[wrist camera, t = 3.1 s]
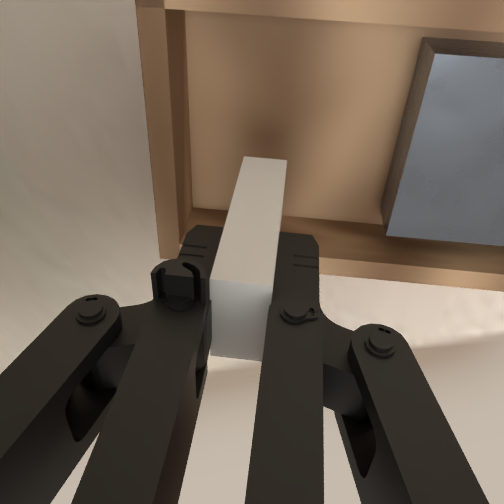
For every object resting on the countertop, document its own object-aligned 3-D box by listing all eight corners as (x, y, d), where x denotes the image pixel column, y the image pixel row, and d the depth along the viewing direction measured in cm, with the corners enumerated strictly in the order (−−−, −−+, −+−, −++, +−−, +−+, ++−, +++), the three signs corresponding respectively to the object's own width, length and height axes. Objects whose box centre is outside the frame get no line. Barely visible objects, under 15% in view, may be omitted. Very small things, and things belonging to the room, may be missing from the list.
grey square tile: (379, 207, 24) (385, 235, 22) (422, 36, 19) (435, 53, 17) (543, 222, 23) (564, 252, 21) (631, 51, 18) (668, 70, 16)
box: (178, 213, 26) (160, 258, 23) (162, -42, 19) (132, -28, 15) (589, 251, 25) (630, 303, 22) (746, -4, 17) (842, 19, 14)
